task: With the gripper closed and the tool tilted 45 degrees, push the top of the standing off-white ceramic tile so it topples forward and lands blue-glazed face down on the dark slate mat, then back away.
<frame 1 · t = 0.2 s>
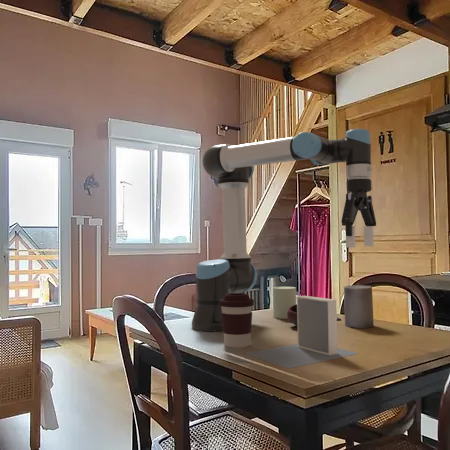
hand: (360, 247, 149), 28 cm above the table, tool pointing down, fingers open, 13 cm apart
chocolate bar: (320, 318, 186), on the table
coffee cup: (237, 347, 136), on the table
pillar candle: (358, 326, 166), on the table
bowl: (304, 326, 168), on the table
tile: (316, 350, 128), point 1 cm above the table, touching mat
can: (284, 317, 187), on the table
mat: (300, 355, 125), on the table
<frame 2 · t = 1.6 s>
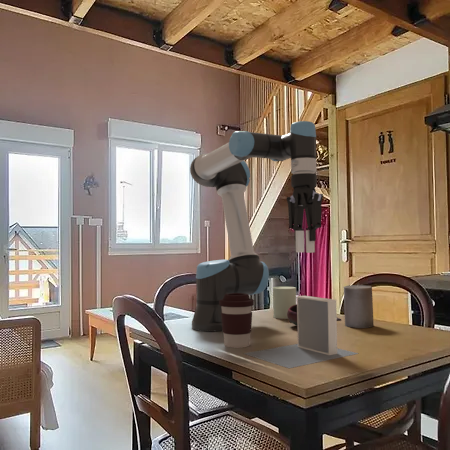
hand: (305, 252, 142), 27 cm above the table, tool pointing down, fingers open, 4 cm apart
nothing on the table moved.
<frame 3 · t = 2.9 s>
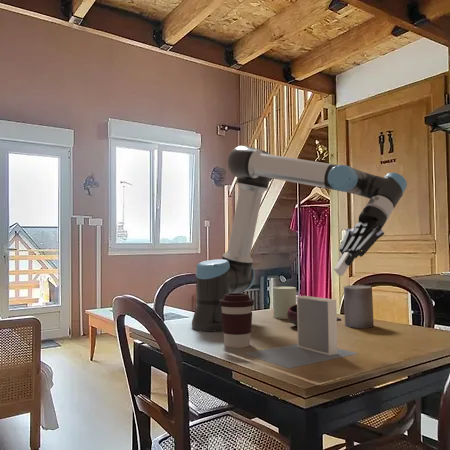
hand: (338, 272, 133), 21 cm above the table, tool tilted 45°, fingers closed
nothing on the table moved.
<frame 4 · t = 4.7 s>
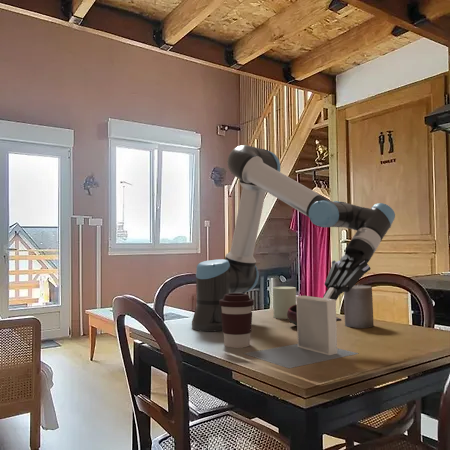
hand: (322, 308, 130), 11 cm above the table, tool tilted 45°, fingers closed
tile: (316, 350, 128), point 1 cm above the table, touching gripper, mat
everything else where it was.
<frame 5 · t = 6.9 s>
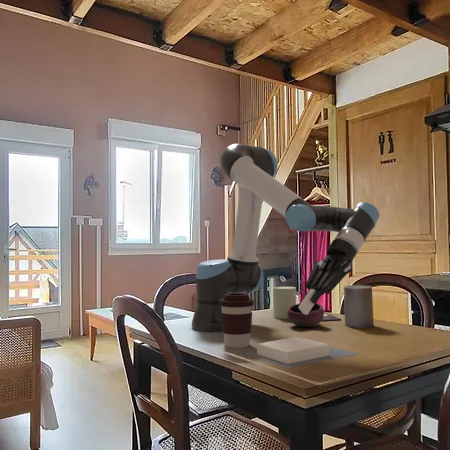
hand: (302, 311, 126), 12 cm above the table, tool tilted 45°, fingers closed
tile: (312, 345, 127), point 2 cm above the table, tilted 90°, touching mat
everything else where it was.
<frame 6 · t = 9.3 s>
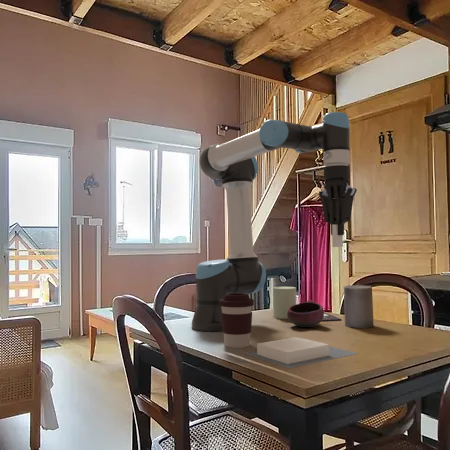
hand: (337, 246, 139), 28 cm above the table, tool pointing down, fingers closed
nothing on the table moved.
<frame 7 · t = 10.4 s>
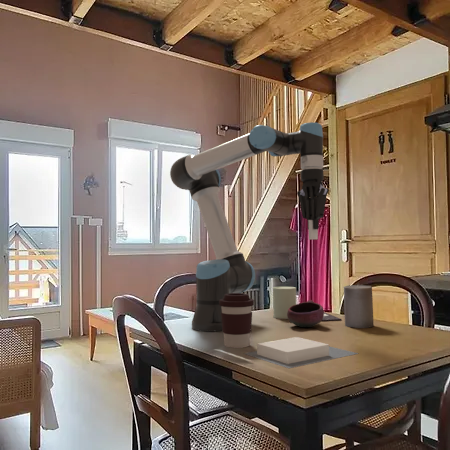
hand: (313, 239, 160), 30 cm above the table, tool pointing down, fingers closed
nothing on the table moved.
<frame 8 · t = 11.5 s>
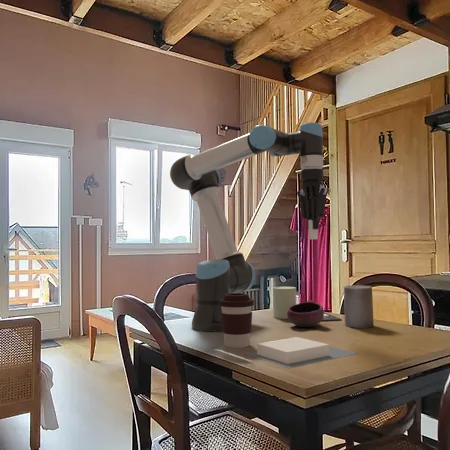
hand: (313, 239, 160), 30 cm above the table, tool pointing down, fingers closed
nothing on the table moved.
at the end: tile tilted 90°; tile 4.3 cm from the mat (horizontally); tile point 2.0 cm above the table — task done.
